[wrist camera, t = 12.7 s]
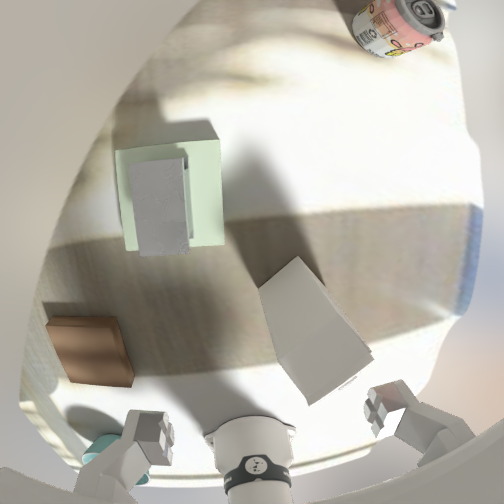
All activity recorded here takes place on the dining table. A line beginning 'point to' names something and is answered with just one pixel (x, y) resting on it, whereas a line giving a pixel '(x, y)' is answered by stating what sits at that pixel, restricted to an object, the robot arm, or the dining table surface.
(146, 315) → the dining table surface
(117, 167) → the stand
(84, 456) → the bowl
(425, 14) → the beverage can
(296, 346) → the milk carton
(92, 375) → the stand
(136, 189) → the block
